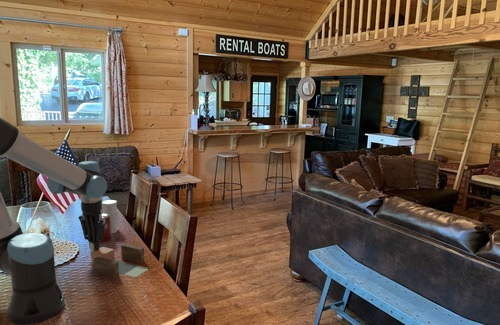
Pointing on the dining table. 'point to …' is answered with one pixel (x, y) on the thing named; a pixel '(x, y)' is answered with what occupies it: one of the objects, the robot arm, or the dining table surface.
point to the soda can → (106, 229)
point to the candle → (111, 213)
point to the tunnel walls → (112, 267)
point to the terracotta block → (103, 254)
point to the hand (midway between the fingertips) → (95, 256)
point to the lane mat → (129, 269)
